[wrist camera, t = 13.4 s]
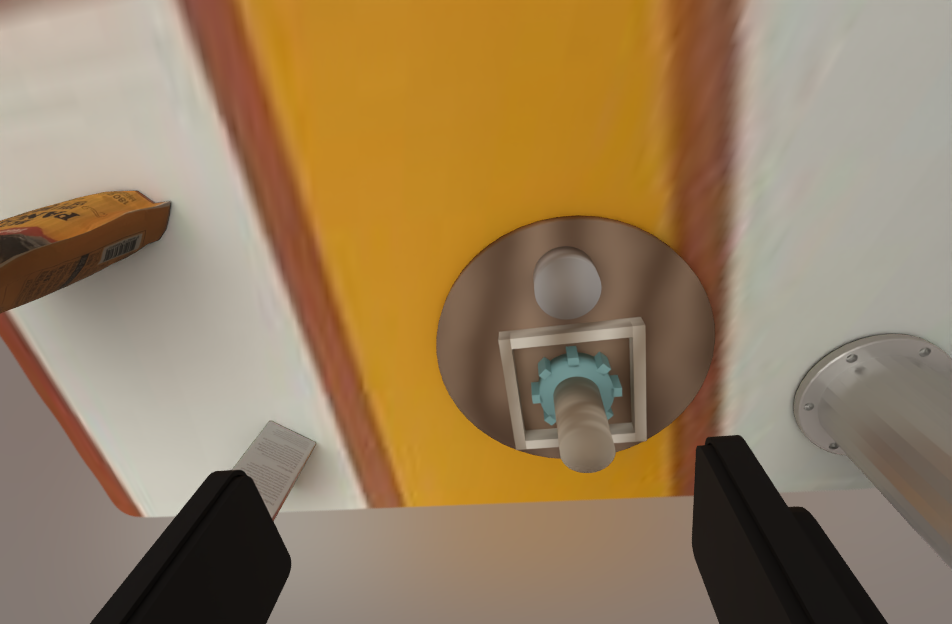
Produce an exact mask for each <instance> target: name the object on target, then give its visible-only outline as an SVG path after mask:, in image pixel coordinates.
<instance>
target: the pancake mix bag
mask: <svg viewBox="0 0 952 624" xmlns="http://www.w3.org/2000/svg"><path fill="white" fill-rule="evenodd" d="M169 212H170V201H168V202H160V203H154V202H153V201H151V200H150V199H148V198H147V197H146V196H144V195H143V194H141V193H140V192H139V191H114V192H102V193H98V194H93V195H88V196H84V197H80V198H75V199H72V200H69V201H65V202H62V203H58V204H54V205H50V206H47V207H43V208H39V209H36V210H33V211H29V212H26V213H23V214H20V215H17V216H14V217H11V218H8V219H5V220H2V221H0V313H2V312H5V311H8V310H10V309H13V308H16V307H18V306H21V305H24V304H26V303H29V302H31V301H34V300H36V299H39V298H41V297H43V296H46V295H48V294H50V293H53V292H55V291H57V290H59V289H62V288H64V287H66V286H68V285H71V284H73V283H75V282H77V281H79V280H81V279H84V278H86V277H88V276H90V275H92V274H94V273H96V272H98V271H100V270H102V269H104V268H106V267H107V266H109V265H111V264H113V263H115V262H118V261H120V260H122V259H124V258H126V257H128V256H130V255H131V254H133V253H135V252H137V251H138V250H139V249H141V248H142V247H144V246H145V245H146V244H149V243H152V242H155V241H158V240H159V239H160V238H161V236H162V235H163V233H164V231H165V230H166V227H167V223H168V218H169Z"/></svg>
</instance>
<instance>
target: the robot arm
mask: <svg viewBox="0 0 952 624" xmlns="http://www.w3.org/2000/svg"><path fill="white" fill-rule="evenodd" d="M794 416H795V419H796V422H797V424H798V426H799V427H800V429H801V430H802V432H803V433H804V434H805V435H806V436H807V438H808V439H809V440H810V441H811V442H812V443H814V444H815V445H817V446H818V447H820V448H822V449H824V450H826V451H828V452H831V453H836V454H840V455H847V456H848V457H849V458H850V459H851V460H852V461H853V462H854V463H855V464H856V466H857V467H858V468H859V469H860V470H861V471H862V472H863V473H864V474H865V476H866V477H867V478H868V479H869V480H870V481H871V482H872V483H873V484H874V486H875V487H876V488H877V489H878V490H879V491H880V492H881V493H882V494H883V496H884V497H885V498H886V499H887V500H888V501H889V502H890V503H891V504H892V505H893V507H894V508H895V509H896V510H897V511H898V512H899V513H900V514H901V515H902V516H903V518H904V519H906V521H907V522H908V523H909V524H910V525H911V526H912V528H913V529H914V530H915V531H916V532H917V533H918V534H919V535H920V536H921V538H922V539H923V540H924V541H925V542H926V543H927V544H928V545H929V546H930V548H931V549H932V550H933V551H934V552H935V553H936V554H937V555H938V556H939V558H940V559H941V560H942V561H943V562H944V563H945V564H946V565H947V566H948V567H949V569H951V571H952V359H951V358H950V357H949V356H948V354H947V353H946V352H945V351H943V350H941V349H940V348H938V347H937V346H935V345H934V344H932V343H930V342H928V341H926V340H924V339H922V338H919V337H914V336H910V335H903V334H885V335H875V336H871V337H867V338H863V339H859V340H857V341H854V342H852V343H849V344H846V345H844V346H842V347H840V348H839V349H837V350H835V351H833V352H831V353H830V354H829V355H827V356H826V357H825V358H823V359H822V360H820V361H819V362H818V363H817V364H816V365H815V366H814V367H813V368H812V369H811V370H810V371H809V372H808V373H807V375H806V376H805V378H804V379H803V380H802V382H801V384H800V386H799V388H798V390H797V392H796V396H795V400H794ZM692 547H693V553H694V557H695V560H696V563H697V565H698V568H699V571H700V574H701V576H702V579H703V581H704V584H705V587H706V589H707V592H708V595H709V597H710V600H711V603H712V605H713V608H714V610H715V613H716V616H717V619H718V621H719V624H888V623H887V622H886V620H885V619H884V617H883V616H882V614H881V613H880V611H879V610H878V609H877V607H876V606H875V604H874V603H873V601H872V600H871V598H870V597H869V596H868V594H867V593H866V591H865V590H864V588H863V587H862V586H861V584H860V583H859V581H858V580H857V578H856V577H855V576H854V574H853V573H852V571H851V570H850V568H849V567H848V565H847V564H846V562H845V561H844V560H843V558H842V557H841V555H840V554H839V552H838V551H837V550H836V548H835V547H834V545H833V544H832V542H831V541H830V539H829V538H828V537H827V535H826V534H825V532H824V531H823V529H822V528H821V526H820V525H819V524H818V522H817V521H816V519H815V518H814V517H813V516H812V515H811V513H810V512H809V511H807V510H806V509H805V508H803V507H788V506H787V505H786V503H785V502H784V500H783V499H782V497H781V496H780V494H779V492H778V491H777V489H776V488H775V486H774V485H773V483H772V482H771V480H770V478H769V477H768V475H767V474H766V472H765V471H764V469H763V468H762V466H761V465H760V463H759V462H758V460H757V458H756V457H755V455H754V454H753V452H752V451H751V449H750V448H749V446H748V445H747V443H746V441H745V440H744V439H743V438H742V437H741V436H740V435H733V436H719V437H708V438H707V439H706V442H705V445H703V446H697V448H696V462H695V484H694V505H693V527H692ZM290 570H291V558H290V555H289V553H288V551H287V549H286V547H285V545H284V543H283V541H282V538H281V537H280V534H279V532H278V530H277V528H276V526H275V524H274V522H273V520H272V518H271V516H270V514H269V511H268V509H267V507H266V505H265V503H264V501H263V499H262V497H261V495H260V493H259V491H258V489H257V487H256V485H255V483H254V480H253V479H252V478H251V477H250V476H247V474H246V473H245V472H244V471H243V470H227V471H215V472H213V473H211V474H210V475H209V476H208V477H207V478H206V480H205V481H204V482H203V483H202V485H201V486H200V487H199V488H198V490H197V491H196V492H195V493H194V495H193V496H192V497H191V498H190V500H189V501H188V502H187V503H186V505H185V506H184V507H183V508H182V510H181V511H180V512H179V513H178V515H177V516H176V517H175V518H174V519H173V521H172V522H171V523H170V525H169V526H168V527H167V528H166V529H165V531H164V532H163V533H162V534H161V536H160V537H159V538H158V539H157V541H156V542H155V543H154V544H153V546H152V547H151V548H150V549H149V551H148V552H147V553H146V554H145V556H144V557H143V558H142V560H141V561H140V562H139V563H138V564H137V566H136V567H135V568H134V570H133V571H132V572H131V573H130V574H129V576H128V577H127V578H126V579H125V581H124V582H123V583H122V584H121V586H120V587H119V588H118V589H117V591H116V592H115V593H114V594H113V596H112V597H111V598H110V599H109V601H108V602H107V603H106V604H105V606H104V607H103V608H102V609H101V611H100V612H99V613H98V614H97V615H96V617H95V618H94V619H93V620H92V622H91V623H90V624H266V623H267V620H268V618H269V616H270V614H271V612H272V610H273V608H274V606H275V604H276V602H277V599H278V597H279V595H280V593H281V591H282V589H283V587H284V585H285V582H286V580H287V578H288V576H289V573H290Z"/></svg>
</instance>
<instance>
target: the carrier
mask: <svg viewBox="0 0 952 624" xmlns="http://www.w3.org/2000/svg"><path fill="white" fill-rule="evenodd" d="M714 343H715V324H714V319H713V313H712V308H711V305H710V302H709V300H708V297H707V294H706V292H705V290H704V288H703V286H702V285H701V283H700V281H699V279H698V277H697V276H696V275H695V273H694V272H693V271H692V270H691V268H690V267H689V266H688V265H687V263H686V262H685V261H684V260H683V259H682V258H681V257H680V256H679V255H678V254H677V253H676V252H674V251H673V250H672V249H671V248H670V247H669V246H668V245H667V244H665V243H664V242H662V241H661V240H659V239H658V238H656V237H655V236H654V235H652V234H650V233H648V232H646V231H644V230H642V229H640V228H638V227H636V226H633V225H630V224H627V223H624V222H621V221H618V220H613V219H608V218H602V217H595V216H566V217H556V218H551V219H546V220H541V221H537V222H534V223H531V224H528V225H525V226H522V227H520V228H518V229H515V230H513V231H511V232H509V233H507V234H505V235H503V236H502V237H500V238H499V239H497V240H496V241H494V242H492V243H491V244H489V245H488V246H487V247H485V248H484V249H483V250H482V251H481V252H480V253H479V254H477V255H476V256H475V257H474V258H473V259H472V260H471V261H470V262H469V264H468V265H467V266H466V267H465V268H464V269H463V270H462V272H461V273H460V275H459V276H458V278H457V279H456V281H455V282H454V284H453V286H452V288H451V290H450V292H449V294H448V296H447V298H446V301H445V304H444V307H443V310H442V313H441V317H440V320H439V325H438V331H437V358H438V365H439V369H440V373H441V376H442V379H443V382H444V384H445V386H446V388H447V391H448V393H449V395H450V396H451V398H452V399H453V401H454V402H455V404H456V406H457V407H458V408H459V409H460V411H461V412H462V413H463V414H464V415H465V416H466V418H467V419H468V420H470V421H471V422H472V423H473V424H474V425H475V426H476V427H477V428H478V429H480V430H481V431H483V432H484V433H485V434H487V435H488V436H490V437H491V438H493V439H495V440H497V441H499V442H500V443H502V444H504V445H507V446H509V447H511V448H514V449H516V450H519V451H522V452H526V453H529V454H532V455H538V456H543V457H548V458H560V459H561V457H560V450H559V441H558V433H557V424H556V422H555V423H554V424H553V425H550V424H549V423H547V422H546V421H544V411H543V408H542V405H541V403H536V404H533V401H532V390H531V382H539V377H540V376H539V374H538V363H539V362H540V361H541V360H542V359H543V357H545V358H547V359H548V360H550V361H551V360H552V359H553V358H555V357H557V356H560V355H562V354H566V347H567V346H576V348H577V352H579V353H586V354H589V355H591V356H595V355H596V354H597V353H598V352H599V351H600V352H601V353H602V354H604V355H605V356H607V358H608V361H609V364H610V367H611V370H610V371H609V375H618V378H619V381H620V384H621V386H622V396H620V397H614V400H613V403H612V405H611V409H612V412H613V416H612V417H611V418H610V419H609V420H608V424H609V427H610V431H611V435H612V438H613V442H614V446H615V452H618V451H621V450H624V449H627V448H630V447H632V446H634V445H636V444H639V443H641V442H643V441H647V439H648V438H650V437H652V436H653V435H655V434H657V433H658V432H660V431H661V430H662V429H664V428H665V427H666V426H668V425H669V424H670V423H672V422H673V421H674V420H675V419H676V418H677V417H678V416H679V415H680V414H681V413H682V412H683V411H684V410H685V409H686V407H687V406H688V405H689V404H690V403H691V401H692V400H693V399H694V397H695V396H696V394H697V393H698V391H699V389H700V388H701V386H702V384H703V382H704V380H705V378H706V375H707V373H708V370H709V367H710V364H711V360H712V357H713V350H714Z"/></svg>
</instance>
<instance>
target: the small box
mask: <svg viewBox="0 0 952 624" xmlns="http://www.w3.org/2000/svg"><path fill="white" fill-rule="evenodd" d="M315 445H316V442H314V441H312V440H310V439H308V438H305V437H303V436H301V435H299V434H297V433H295V432H293V431H291V430H289V429H287V428H285V427H283V426H281V425H279V424H277V423H274V422H272V421H269V422H268V423H267V425H266V426H265V427H264V428H263V430H262V431H261V432H260V434H259V435H258V436H257V438H256V439H255V440H254V441H253V443H252V444H251V445H250V447H249V448H248V449H247V451H246V452H245V453H244V454H243V456H242V457H241V458H240V460H239V461H238V462H237V464H236V465H235V466H234V467H233V469H232V470H243V471H244V472H245V473H246V474H247V476H250V477H251V478H252V479H253V480H254V483H255V485H256V487H257V489H258V491H259V493H260V495H261V497H262V499H263V501H264V503H265V505H266V507H267V509H268V511H269V514H270V516H271V518H272V520H273V521H274V519H275V517H276V516H277V514H278V512H279V510H280V509H281V507H282V505H283V503H284V501H285V500H286V498H287V496H288V494H289V493H290V491H291V489H292V487H293V485H294V483H295V481H296V479H297V478H298V476H299V474H300V472H301V470H302V468H303V467H304V465H305V463H306V461H307V459H308V458H309V456H310V454H311V452H312V450H313V448H314V447H315Z"/></svg>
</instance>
